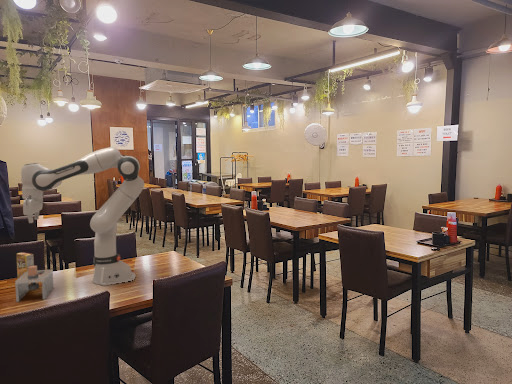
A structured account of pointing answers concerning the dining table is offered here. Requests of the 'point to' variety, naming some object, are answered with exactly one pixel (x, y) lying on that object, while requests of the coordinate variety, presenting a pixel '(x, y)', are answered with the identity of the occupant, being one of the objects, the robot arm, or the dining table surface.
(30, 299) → the dining table surface
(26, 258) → the candy box
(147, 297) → the dining table surface
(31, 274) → the pink-topped grey pedestal
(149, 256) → the dining table surface
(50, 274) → the grey bridge stand
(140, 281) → the dining table surface
